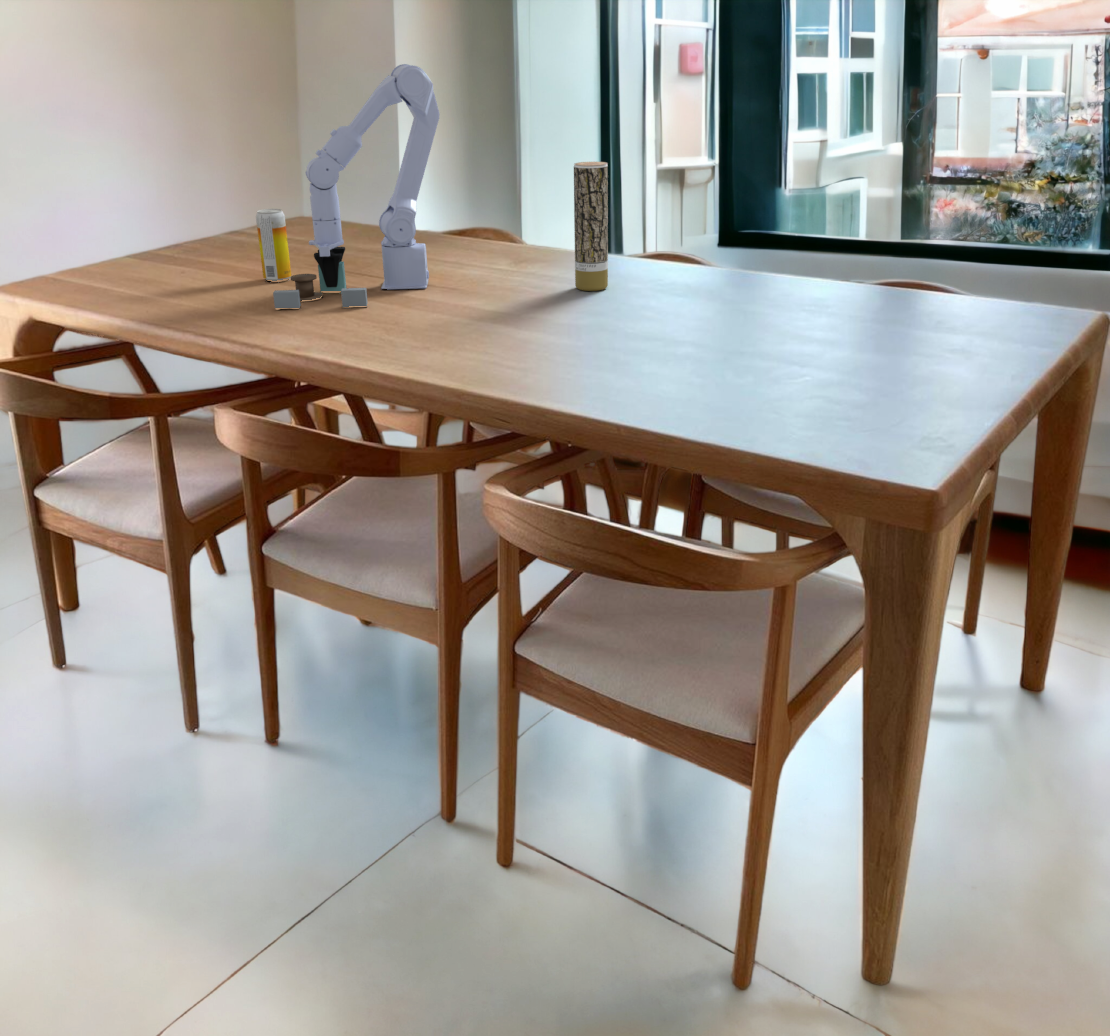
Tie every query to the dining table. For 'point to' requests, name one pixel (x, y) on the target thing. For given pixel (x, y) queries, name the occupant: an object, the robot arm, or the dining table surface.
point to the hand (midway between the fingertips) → (333, 284)
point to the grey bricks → (293, 301)
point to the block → (341, 279)
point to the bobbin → (305, 286)
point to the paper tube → (591, 225)
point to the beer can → (273, 244)
